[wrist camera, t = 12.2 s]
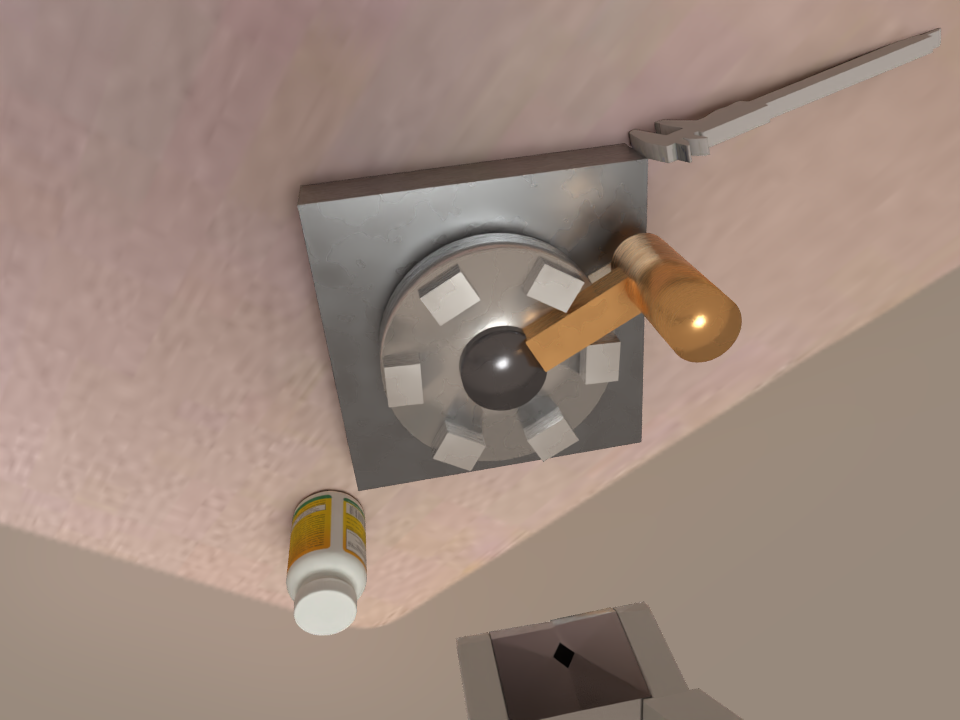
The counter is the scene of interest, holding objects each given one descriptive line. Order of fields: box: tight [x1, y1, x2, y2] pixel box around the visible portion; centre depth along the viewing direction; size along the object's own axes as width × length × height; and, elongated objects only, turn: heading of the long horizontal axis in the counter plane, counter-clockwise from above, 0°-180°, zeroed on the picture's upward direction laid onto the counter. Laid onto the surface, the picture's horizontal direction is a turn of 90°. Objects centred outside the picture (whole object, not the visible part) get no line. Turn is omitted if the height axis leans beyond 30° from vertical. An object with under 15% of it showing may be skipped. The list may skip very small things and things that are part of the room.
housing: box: [297, 144, 648, 491], centre depth 48 cm, size 20×20×4 cm
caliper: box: [629, 28, 941, 163], centre depth 44 cm, size 20×1×6 cm, turn 106°
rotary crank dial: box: [379, 233, 742, 471], centre depth 41 cm, size 19×14×11 cm
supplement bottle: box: [286, 491, 367, 635], centre depth 52 cm, size 5×5×10 cm
